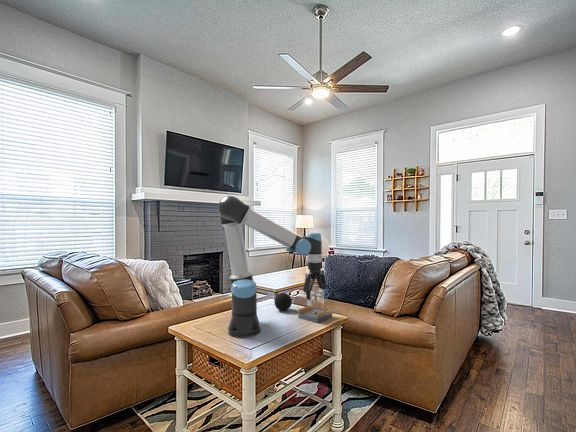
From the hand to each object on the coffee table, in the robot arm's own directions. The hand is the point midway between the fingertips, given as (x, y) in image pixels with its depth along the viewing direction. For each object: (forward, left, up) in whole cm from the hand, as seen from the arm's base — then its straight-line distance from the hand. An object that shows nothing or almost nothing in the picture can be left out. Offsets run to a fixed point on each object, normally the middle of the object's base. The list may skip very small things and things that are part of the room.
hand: (315, 303), depth 169 cm
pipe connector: (0, 0, 0) cm, 0 cm away
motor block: (0, 0, -8) cm, 8 cm away
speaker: (-15, +16, -8) cm, 23 cm away
